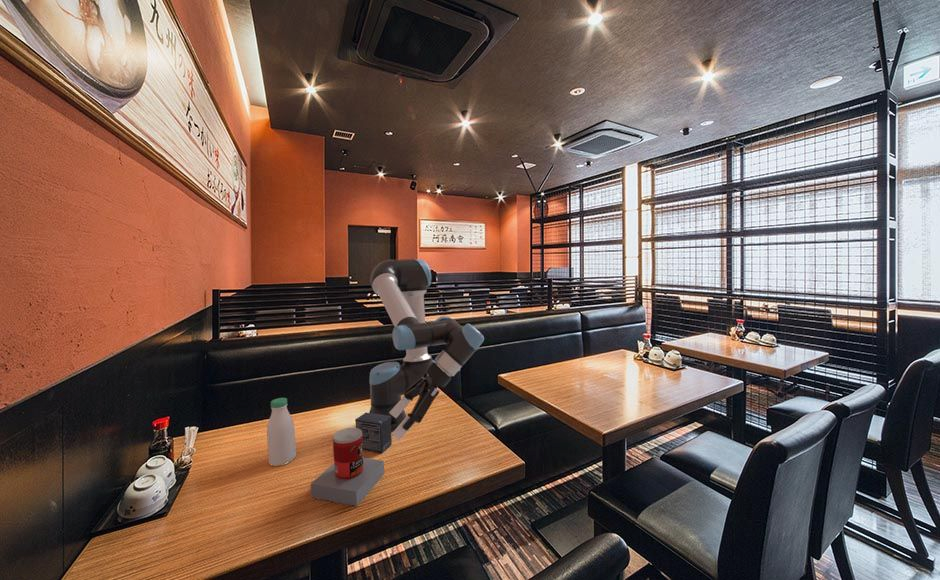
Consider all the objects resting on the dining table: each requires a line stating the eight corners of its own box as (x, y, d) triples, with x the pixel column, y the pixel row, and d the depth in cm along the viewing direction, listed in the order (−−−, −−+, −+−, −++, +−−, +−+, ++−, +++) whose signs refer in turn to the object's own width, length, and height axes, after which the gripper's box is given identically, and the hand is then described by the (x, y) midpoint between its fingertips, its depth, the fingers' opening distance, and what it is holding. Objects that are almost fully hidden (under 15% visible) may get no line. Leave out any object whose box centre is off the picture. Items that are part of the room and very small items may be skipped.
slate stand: (343, 467, 104) (343, 454, 103) (384, 473, 100) (383, 460, 100) (311, 497, 90) (310, 483, 90) (357, 506, 87) (356, 491, 86)
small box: (393, 444, 117) (391, 415, 116) (382, 454, 111) (381, 423, 110) (367, 439, 120) (366, 411, 120) (355, 449, 114) (354, 419, 113)
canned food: (355, 481, 91) (353, 442, 90) (328, 478, 92) (326, 439, 91) (369, 464, 98) (367, 428, 97) (344, 462, 100) (342, 426, 99)
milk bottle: (301, 456, 110) (297, 397, 109) (279, 469, 103) (275, 406, 102) (285, 451, 114) (282, 394, 112) (263, 463, 107) (259, 402, 105)
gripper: (462, 391, 89) (408, 456, 86) (443, 364, 113) (400, 414, 110) (442, 374, 87) (385, 439, 84) (427, 351, 111) (382, 401, 108)
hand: (393, 425), depth 97 cm, fingers open, 13 cm apart
